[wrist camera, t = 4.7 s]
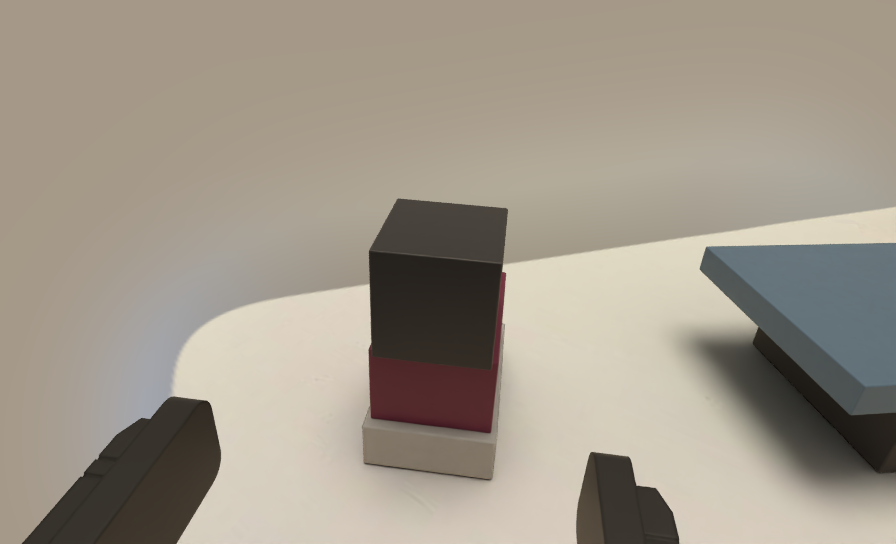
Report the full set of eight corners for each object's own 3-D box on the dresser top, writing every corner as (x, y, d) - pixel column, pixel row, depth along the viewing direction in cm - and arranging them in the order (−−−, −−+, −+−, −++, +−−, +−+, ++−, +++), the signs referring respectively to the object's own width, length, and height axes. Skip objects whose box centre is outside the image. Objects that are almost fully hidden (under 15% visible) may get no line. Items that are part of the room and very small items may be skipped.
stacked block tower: (492, 481, 20) (517, 264, 16) (362, 463, 20) (354, 249, 16) (502, 335, 28) (522, 163, 23) (408, 324, 28) (411, 154, 24)
